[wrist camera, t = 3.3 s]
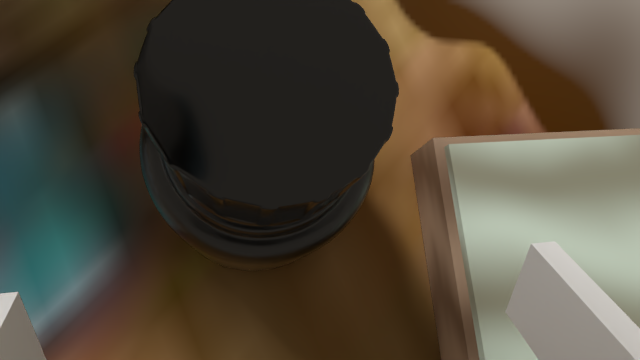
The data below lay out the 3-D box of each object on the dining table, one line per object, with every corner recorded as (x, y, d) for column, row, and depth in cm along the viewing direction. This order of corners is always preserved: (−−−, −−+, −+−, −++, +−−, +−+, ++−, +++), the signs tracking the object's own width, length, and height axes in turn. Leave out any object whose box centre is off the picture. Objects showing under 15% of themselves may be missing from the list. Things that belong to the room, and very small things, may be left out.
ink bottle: (374, 228, 24) (501, 172, 12) (217, 312, 22) (192, 340, 10) (289, 70, 25) (332, -116, 13) (132, 134, 23) (22, -23, 11)
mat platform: (410, 155, 25) (437, 134, 22) (642, 143, 28) (697, 123, 24) (466, 527, 21) (509, 572, 18) (728, 469, 24) (807, 498, 21)
